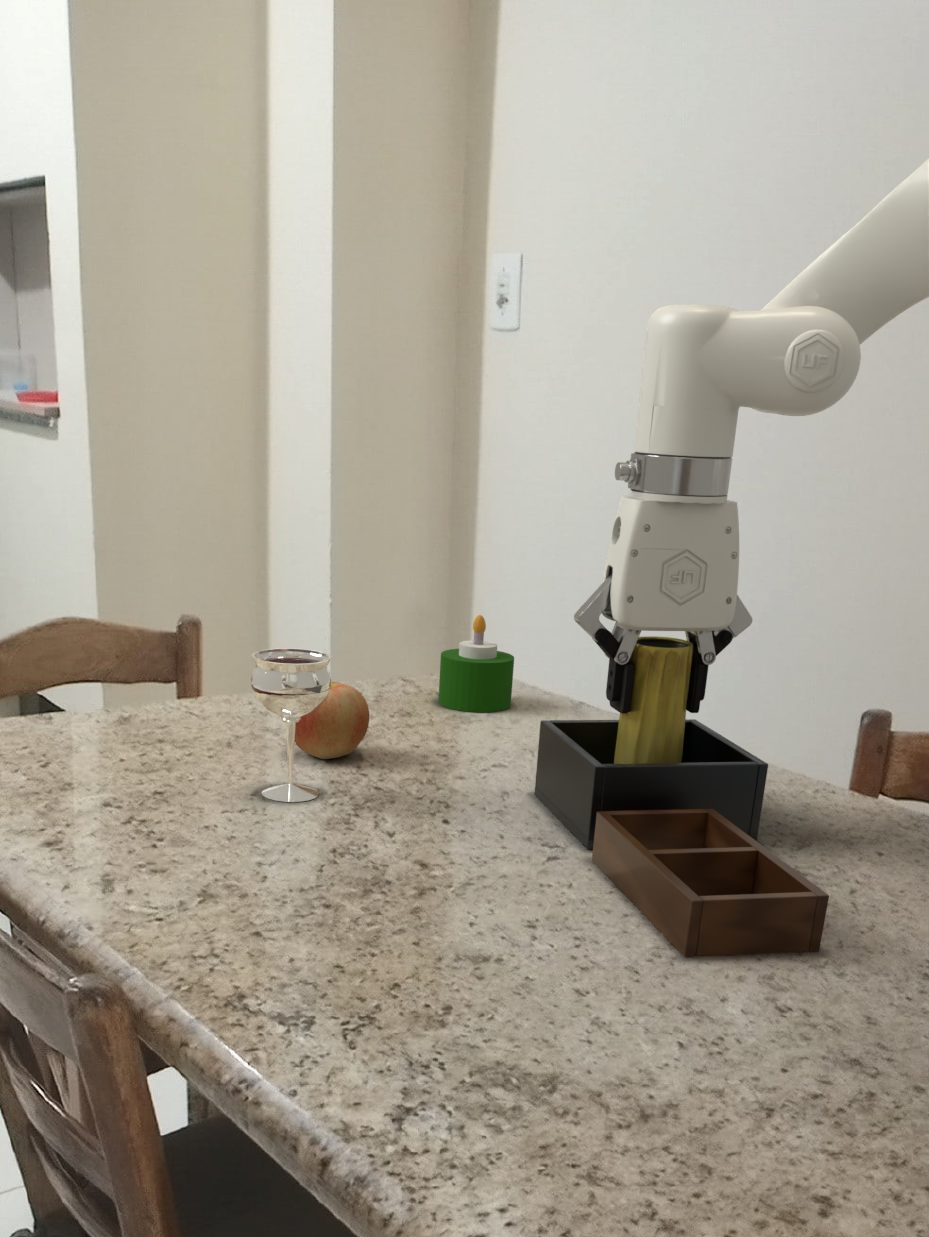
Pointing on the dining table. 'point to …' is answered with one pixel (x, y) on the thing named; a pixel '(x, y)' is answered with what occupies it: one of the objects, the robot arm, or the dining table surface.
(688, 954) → the divided wooden tray
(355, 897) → the dining table surface
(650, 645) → the vase
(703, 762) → the black open box
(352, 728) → the apple
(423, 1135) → the dining table surface
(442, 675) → the candle
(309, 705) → the wineglass
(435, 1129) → the dining table surface
